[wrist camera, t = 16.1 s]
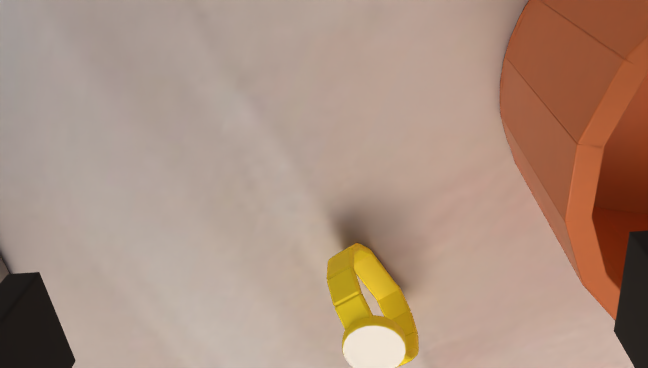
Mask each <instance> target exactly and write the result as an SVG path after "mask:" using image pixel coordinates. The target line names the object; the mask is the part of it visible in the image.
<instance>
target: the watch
mask: <svg viewBox="0 0 648 368" xmlns="http://www.w3.org/2000/svg"><path fill="white" fill-rule="evenodd" d="M356 274H357V275H358V277H359V278H360V279H361V280H362V282H363V283H364V284H365V286H366V287H367V288H368V289H369V291H370V292H371V293H372V295H373V296H374V297H375V298H376V300H377V302H378V304H379V306H380V308H381V311H382V313H383V315H384V317H382V316H376V315H374V316H373V314H372V312H371V310H370V308H369V306H368V304H367V302H366V300H365V298H364V296H363V294H361V293H362V292H361V289H360V285H359V282H358V279H357V276H356ZM327 280H328V281H327V283H328V287H329V291H330V294H331V298H332V302H333V305H334V306H335V310H336V312H337V314H338V316H339V318H340V320H341V322H342V324H343V326H344V328H345V331H344V335H343V340H342V350H343V355H344V357H345V359H346V360H347V362H348V363H349V364H350V365H351V366H352V367H353V368H397V367H399V366H401V365H403V364H405V363H407V362H410V361H412V360H413V359H414V358H415V357H416V356H417V355H418V351H419V347H418V335H417V334H418V332H417V329H416V326H415V322H414V319H413V316H412V313H411V312H410V311H411V310H410V308H409V306H408V304H407V301H406V299H405V297H404V295H403V293H402V291H401V289H400V288H399V287H400V286H399V285H397V284H396V283H395V282H394V280H393V279H392V278H391V276H390V275H389V274H388V272H387V271H386V270H385V268H384V267H383V266H382V264H381V263H380V262H379V260H378V259H377V258H376V256H375V255H374V254H373V252H372V251H371V249H369V248H367V247H365V246H363V245H361V244H359V243H355V244H354V245H352V246H350V247H348V248H347V249H345V250H343V251H341V252H339V253H338V254H336V255H335V256H333V257H332V258H330V259H329V261H328V267H327Z"/></svg>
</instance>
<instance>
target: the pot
mask: <svg viewBox="0 0 648 368" xmlns="http://www.w3.org/2000/svg"><path fill="white" fill-rule="evenodd" d="M500 109H501V110H500V114H501V119H502V123H503V127H504V131H505V134H506V138H507V141H508V143H509V145H510V148H511V151H512V154H513V157H514V161H515V163H516V165H517V167H518V169H519V170H520V172H521V174H522V176H523V178H524V180H525V181H526V183H527V185H528V187H529V189H530V190H531V192H532V194H533V196H534V198H535V199H536V201H537V203H538V205H539V207H540V208H541V210H542V212H543V214H544V216H545V218H546V219H547V221H548V223H549V225H550V227H551V228H552V230H553V232H554V234H555V236H556V237H557V239H558V241H559V243H560V245H561V247H562V248H563V250H564V252H565V254H566V256H567V257H568V259H569V261H570V263H571V265H572V266H573V268H574V270H575V272H576V274H577V275H578V277H579V279H580V281H581V283H582V284H583V286H584V287H585V288H586V289H587V290H588V291H589V292H590V293H591V294H592V295H593V297H594V298H595V299H596V300H597V301H598V302H599V303H600V304H601V305H602V307H603V308H604V309H605V310H606V311H607V312H608V313H609V314H610V315H611V317H612V318H613V319H614V320H615V321H616V315H617V308H618V302H619V296H620V289H621V283H622V277H623V270H624V264H625V258H626V251H627V245H628V238H629V232H633V231H648V0H529V1H528V3H527V5H526V6H525V8H524V10H523V12H522V13H521V15H520V17H519V19H518V21H517V24H516V26H515V28H514V31H513V33H512V35H511V38H510V41H509V44H508V47H507V51H506V54H505V58H504V61H503V68H502V74H501V80H500Z"/></svg>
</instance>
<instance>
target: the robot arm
mask: <svg viewBox="0 0 648 368" xmlns="http://www.w3.org/2000/svg"><path fill="white" fill-rule="evenodd" d="M614 332H615V334H616V336H617V337H618V339H619V341H620V343H621V344H622V346H623V348H624V349H625V351H626V353H627V355H628V356H629V358H630V360H631V362H632V363H633V365H634V367H635V368H648V231H633V232H629V238H628V245H627V251H626V258H625V264H624V270H623V277H622V283H621V289H620V296H619V302H618V308H617V315H616V321H615V328H614ZM74 363H75V358H74V356H73V353H72V351H71V348H70V346H69V344H68V341H67V339H66V336H65V334H64V331H63V329H62V326H61V324H60V322H59V319H58V317H57V314H56V312H55V309H54V307H53V305H52V302H51V300H50V297H49V295H48V292H47V290H46V287H45V285H44V283H43V280H42V278H41V275H40V273H39V272H34V273H20V274H9V272H8V270H7V268H6V266H5V264H4V262H3V261H2V259H1V257H0V368H72V366H73V364H74Z"/></svg>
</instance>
